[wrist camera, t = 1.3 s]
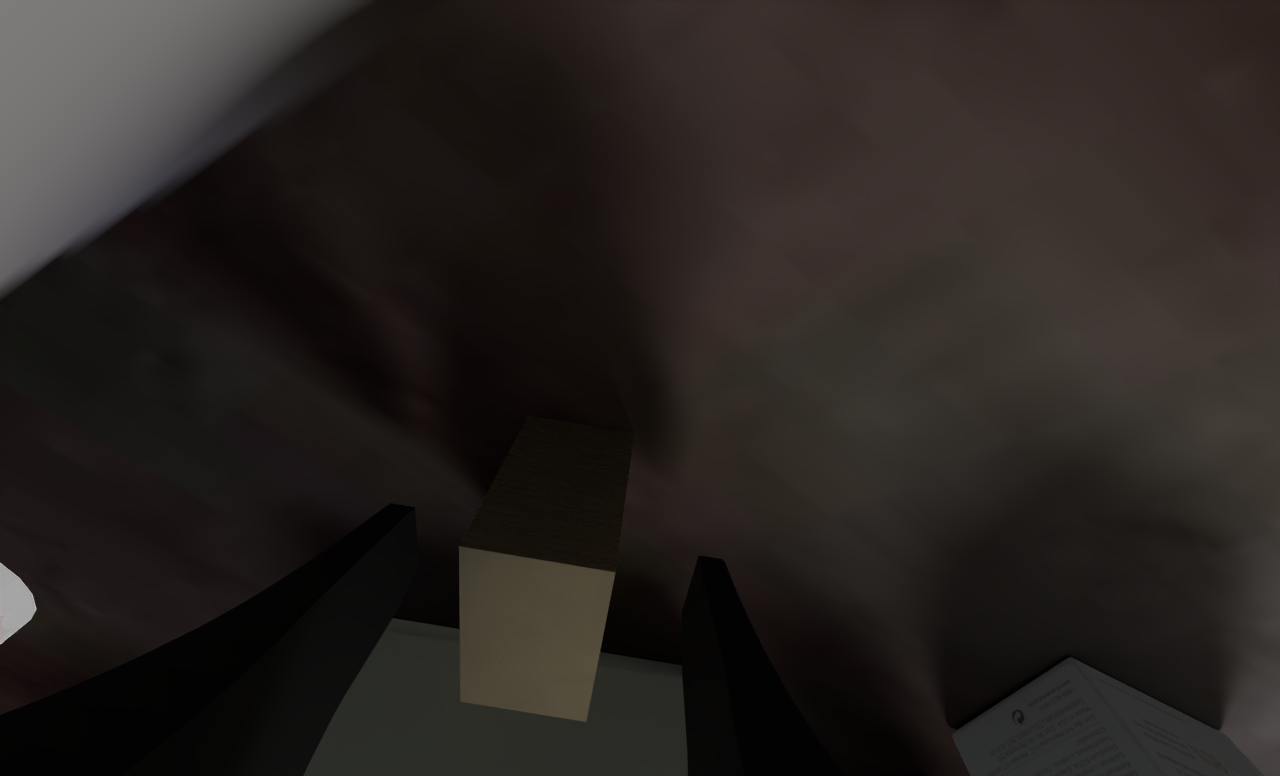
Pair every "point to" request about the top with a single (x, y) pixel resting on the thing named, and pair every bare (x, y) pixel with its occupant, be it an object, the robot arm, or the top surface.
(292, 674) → the robot arm
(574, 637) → the wooden rectangular block
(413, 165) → the top surface
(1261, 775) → the small box
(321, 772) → the slot box
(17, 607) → the beverage cup
